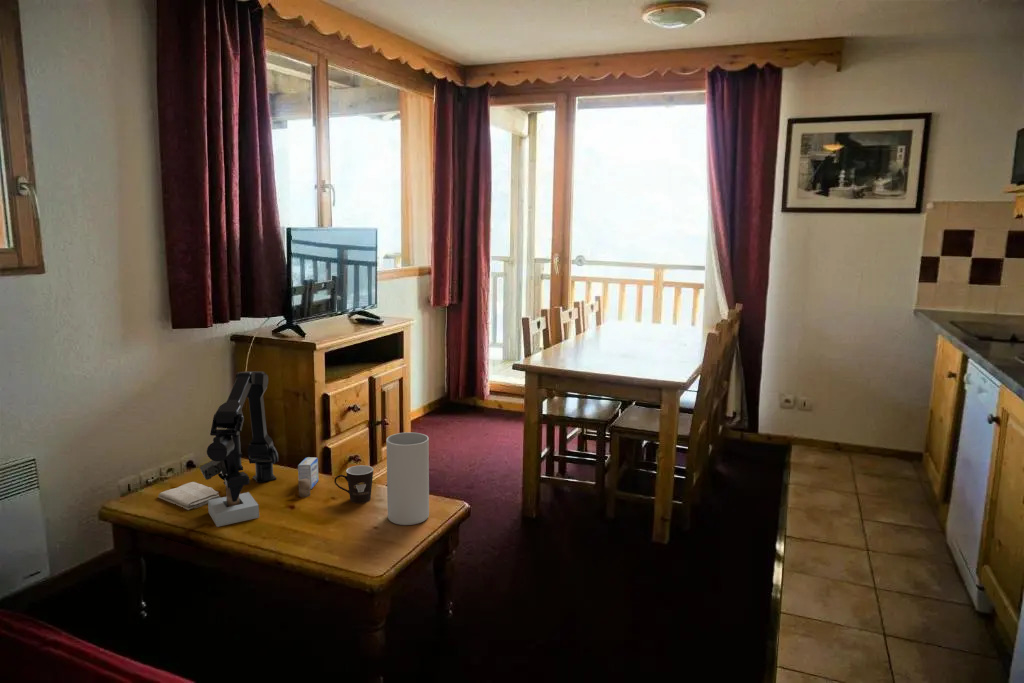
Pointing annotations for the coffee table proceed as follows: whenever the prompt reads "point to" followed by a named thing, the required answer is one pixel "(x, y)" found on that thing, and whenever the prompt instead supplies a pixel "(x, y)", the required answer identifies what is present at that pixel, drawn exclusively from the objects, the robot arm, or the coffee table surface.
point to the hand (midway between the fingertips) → (233, 499)
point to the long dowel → (229, 499)
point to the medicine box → (309, 470)
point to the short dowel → (304, 487)
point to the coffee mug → (358, 483)
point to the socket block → (233, 510)
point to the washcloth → (190, 495)
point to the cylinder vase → (407, 478)
